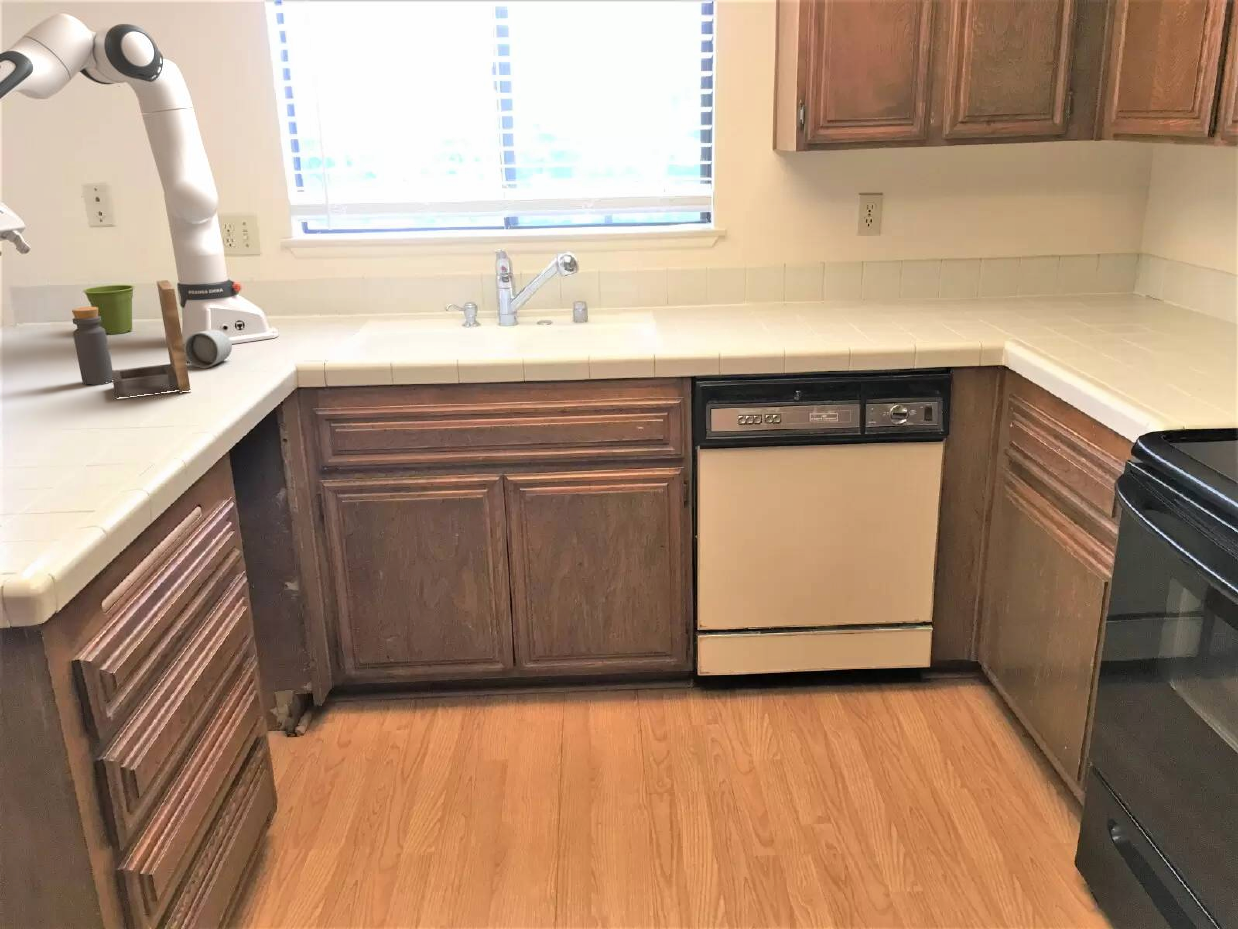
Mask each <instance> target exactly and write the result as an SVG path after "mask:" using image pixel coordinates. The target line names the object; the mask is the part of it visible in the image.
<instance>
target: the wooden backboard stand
mask: <svg viewBox="0 0 1238 929" xmlns="http://www.w3.org/2000/svg"><path fill="white" fill-rule="evenodd" d="M156 285H157V291H158V297H159V298H158V299H159V302H160V303H159V304H160V309H161V314H162V320H163V327H164V328H163V329H164V333H165V339H166V344H167V351H168V352H167V353H168V358H169V363H168V364H159V365H151V366H139V367H131V368H130V367H129V368H123V369H122V368H121V369H115V370H114V369H113V370H112V371H111V374H112V380H113V382H112V385H113V390H114V394H116V395H115V399H116V398H119V397H130V396H137V395H144V394H155V393H161V392H167V391H175V390H179V392H182V391H189V390H192V389H191V383H190V377H189V372H188V367H187V366H188V363H187V364H186V358H185V352H184V344H183V339H182V328H181V327H182V326H181V322H180V316H179V309H178V303H177V298H176V291H175V287H173V285H172V284H171V283H170V282H169V280H168V279H164V280H156ZM179 392H178V393H179Z"/></svg>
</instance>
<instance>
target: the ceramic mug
mask: <svg viewBox="0 0 1238 929" xmlns="http://www.w3.org/2000/svg"><path fill="white" fill-rule="evenodd" d="M183 346H184V352H185V358H186V363H187V364H189V363H190V364H191V365H193V366H194V367H197V368H199V367H201V368H200V369H209V368H211V367H213V366H215V365H217V364H219V363H221V362H223V361H225V360H226V359H228V358H229V356H230V355H231V352H232V349H233V344H231V340H230V339H229V337H228V336H227V335H226V334H225V333H224V332H222V331H219V330H213V329H212V330H206V331H202V332H197V333H194V334H192V335H191V336H189V337H188V339H187V340H186V342H185V344H183ZM202 367H203V368H202Z"/></svg>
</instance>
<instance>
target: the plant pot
mask: <svg viewBox="0 0 1238 929" xmlns="http://www.w3.org/2000/svg"><path fill="white" fill-rule="evenodd" d="M134 289H135V286H134V285H131V284H112V285H111V284H109V285H101V286H93V287H89V288H85V289H83V290H82V292H83V293H85V295H86V297H87V301H88V302H89V304H90V307H97V308H98V316H100V317H101V322H99V326H100V327H102V328H104V329H105V332H106V335H107V334H109V335H119V334H125V333H127V332H132V331H133V297H134V296H133V294H134Z"/></svg>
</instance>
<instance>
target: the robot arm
mask: <svg viewBox="0 0 1238 929" xmlns="http://www.w3.org/2000/svg"><path fill="white" fill-rule="evenodd" d="M78 73H81V74H82V75H83V76H84V77H85V78H88V80H90V81H93V82H94V83H97V84H101V85H113V84H124V83H127V84H128V85H129V87H130V88H132V90H133V92H134V93H135V95H136V98H137V101H138V104H139V109H140V113H141V117H142V120H143V123H144V126H145V131H146V134H147V137H148V143H149V146H150V149H151V153H152V155H153V159H154V162H155V166H156V170H157V172H158V176H159V179H160V183H161V187H162V190H163V193H164V194H163V196H164V202H165V209H166V215H167V220H168V227H169V231H170V232H169V233H170V238H171V243H172V248H173V255H174V262H175V267H176V268H175V269H176V274H177V278H178V279H177V280H178V281H177V284H176V285H177V288H176V290H177V296H178V303H179V305H180V308H181V313H182V320H181V321H182V322H181V324H182V326H181V327H182V328H181V333H182V339H183V345H185V342H186V340H187V339H188V337H189V336H191V335H192V334H194V333H197V332H202V331H206V330H212V329H213V330H219V331H222V332H224V333H225V334H226V335H227V336H228V337H229V339H230V340H231V344H232V345H234V344H240V343H242V344H243V343H249V342H254V341H261V340H268V339H275V338H277V337H278V336H279V335H280V333H279V331H278V328H276V327H273V326H269V322H268V318H267V316H266V314H265V312H264V310H263V309H262V308H260V307H259V306H257V305H256V304H254V303H253V302H251V301H250V300H248V299H246V298H245V297H243V296H241V295H239V293H240V292H242V290H243V286H242V284H241V283H240V282H235V281H234V280H231V279H229V278H228V270H227V262H226V257H225V249H224V243H223V239H222V234H221V228H220V224H219V222H220V221H219V217H218V212H217V211H218V208H219V201H220V200H219V196H218V192H217V188H216V185H215V180H214V178H213V177H214V176H213V174H212V171H211V168H210V164H209V160H208V156H207V153H206V151H205V148H204V143H203V140H202V136H201V132H200V129H199V125H198V121H197V118H196V113H195V110H194V106H193V103H192V98H191V96H190V92H189V91H188V88H187V85H186V82H185V80H184V77H183V75H182V73H181V71H180V69H179V68H178V66H177V65H176V64H175V63H174V62H173V61H171V60H169V59H165V58H164V57H163V54H162V53H161V51H160V50H159V48H158V46H157V44H156V42H155V40H154V39H153V37H152V36H151V35H150V34H149V33H148V32H147V31H146V30H144V29H143V28H141V27H139V26H138V25H137V26H136V25H134V24H130V23H129V24H128V23H121V24H120V23H119V24H116V25H111V26H110V25H109V26H105V27H102V28H100V29H97V30H94V31H92V30H90V29H88V28H87V26H86V25H84V23H83V22H82V21H81V20H79V19H78V18H76V17H74V16H72V15H70V14H68V13H55V14H53V15H52V16H49V17H47V18H46V19H44V20H42V21H41V22H39V23H37V24H36V25H35V26H34V27H32V28H31V29H30V30H28V31H27V32H26V33H25V34H23V35H22V37H21V38H19V39H18V40H17V41H16V42H15V43H14V44H13V45H12V46H11V47H9V48H8V49H7V50H5V51H3V52H1V53H0V102H2V101H3V100H5V99H6V98H7V97H9V96H10V95H11V94H13V93H15V92H18V93H20V94H21V95H23V96H25V97H28V98H29V99H34V100H35V99H36V100H48V99H49V98H51V97H53V96H55V94H57V93H59V92H60V91H61V90H62V89H63V88H64V87H66V85H68V83H70V81H71V80H72V79H74V78H75V76H76V75H77V74H78ZM25 229H26V224H25V222H24V221H23V219H21V218H20V216H18V215H17V214H16V213H15V212H14V211H13V210H12V209H11V208H9V206H7V205H6V204H5V203H3V202H2V201H0V242H1V241H6V240H8V241H9V242H10V243H13V244H14V245H15V250H16V251H17V252H19V253H20V254H21V255H23V254H25V255H26V254H28V253H29V252H30V251H31V250H32V247H31V245H29V244H28V243H27V242H26V241H25V239H24V237H23V236H22V233H23V232H24V230H25ZM2 255H3V254H2V251H1V250H0V257H1V256H2Z"/></svg>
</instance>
